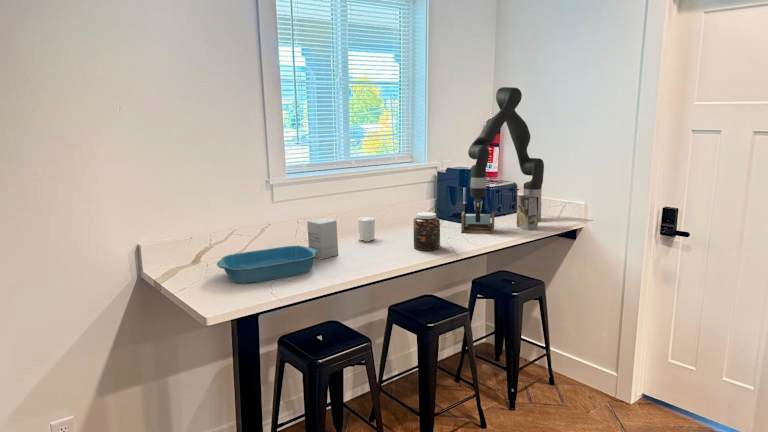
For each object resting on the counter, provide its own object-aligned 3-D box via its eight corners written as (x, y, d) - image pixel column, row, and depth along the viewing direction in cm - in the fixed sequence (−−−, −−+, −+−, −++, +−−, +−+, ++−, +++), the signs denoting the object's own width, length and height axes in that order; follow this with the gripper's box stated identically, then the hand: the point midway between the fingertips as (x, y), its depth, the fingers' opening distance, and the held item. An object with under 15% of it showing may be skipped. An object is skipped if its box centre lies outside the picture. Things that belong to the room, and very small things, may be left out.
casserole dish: (225, 290, 177) (223, 270, 175) (213, 274, 196) (211, 255, 195) (326, 273, 193) (325, 255, 192) (306, 259, 213) (305, 242, 211)
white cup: (355, 241, 242) (355, 220, 240) (362, 237, 249) (362, 216, 247) (371, 242, 239) (370, 220, 237) (378, 238, 246) (377, 217, 244)
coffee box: (538, 229, 257) (539, 197, 254) (528, 230, 255) (529, 198, 252) (525, 225, 266) (526, 194, 263) (515, 227, 263) (516, 195, 260)
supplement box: (325, 251, 224) (323, 217, 221) (338, 255, 218) (337, 220, 215) (308, 255, 218) (306, 220, 215) (321, 259, 211) (319, 223, 209)
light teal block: (465, 221, 258) (465, 213, 257) (490, 222, 256) (490, 214, 255) (465, 223, 253) (465, 215, 252) (490, 224, 251) (490, 216, 250)
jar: (445, 247, 227) (445, 213, 224) (429, 252, 218) (429, 217, 216) (424, 243, 235) (424, 210, 232) (407, 248, 226) (407, 214, 224)
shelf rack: (462, 229, 261) (462, 211, 260) (493, 229, 258) (494, 211, 257) (461, 233, 253) (461, 214, 251) (494, 233, 250) (494, 215, 248)
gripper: (486, 188, 243) (485, 224, 247) (486, 184, 257) (485, 218, 260) (469, 188, 245) (469, 223, 248) (470, 184, 259) (470, 218, 262)
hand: (477, 220), depth 254 cm, fingers closed on light teal block, 5 cm apart
